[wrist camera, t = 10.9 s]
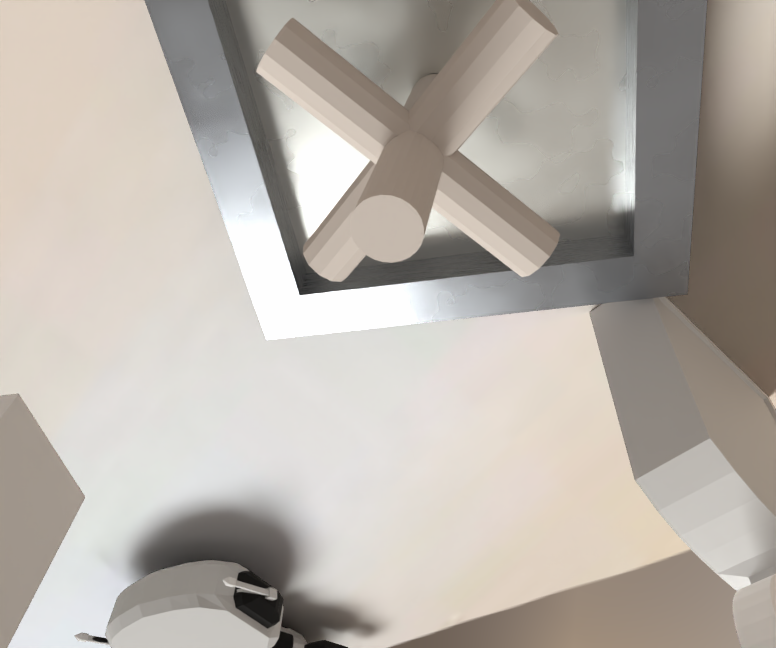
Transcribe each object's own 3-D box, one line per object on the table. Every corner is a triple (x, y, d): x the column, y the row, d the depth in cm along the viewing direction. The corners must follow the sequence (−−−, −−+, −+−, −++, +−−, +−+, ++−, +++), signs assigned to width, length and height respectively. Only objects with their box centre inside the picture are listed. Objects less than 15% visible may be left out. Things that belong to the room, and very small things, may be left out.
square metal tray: (276, 312, 31) (266, 340, 30) (125, -131, 22) (99, -127, 20) (674, 267, 29) (687, 294, 27) (702, -268, 19) (725, -275, 17)
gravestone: (716, 426, 34) (916, 896, 19) (589, 312, 30) (715, 773, 16) (769, 397, 32) (1028, 876, 18) (642, 274, 29) (833, 737, 14)
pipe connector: (454, 272, 29) (422, 444, 21) (250, 118, 27) (125, 244, 19) (645, 79, 23) (702, 211, 15) (409, -135, 21) (330, -112, 13)
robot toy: (382, 627, 48) (233, 513, 40) (380, 697, 44) (215, 587, 36) (246, 669, 52) (89, 575, 45) (234, 735, 49) (61, 645, 41)
